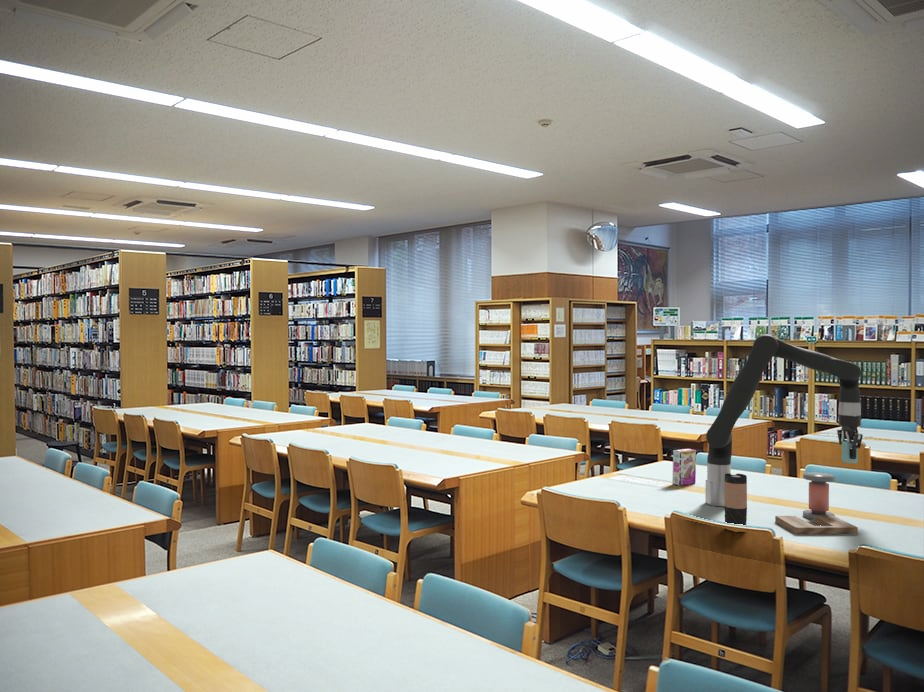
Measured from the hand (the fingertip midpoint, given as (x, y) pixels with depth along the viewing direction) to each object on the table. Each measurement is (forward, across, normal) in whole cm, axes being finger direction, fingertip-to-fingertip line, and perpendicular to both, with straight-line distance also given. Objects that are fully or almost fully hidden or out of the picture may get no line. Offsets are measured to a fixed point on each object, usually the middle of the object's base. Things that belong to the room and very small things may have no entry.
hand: (849, 457), depth 265 cm
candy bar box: (+23, -60, -45) cm, 79 cm away
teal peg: (+2, 0, 0) cm, 2 cm away
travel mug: (+23, +17, -51) cm, 58 cm away
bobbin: (+23, 0, -12) cm, 26 cm away
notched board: (+23, +15, -21) cm, 35 cm away
